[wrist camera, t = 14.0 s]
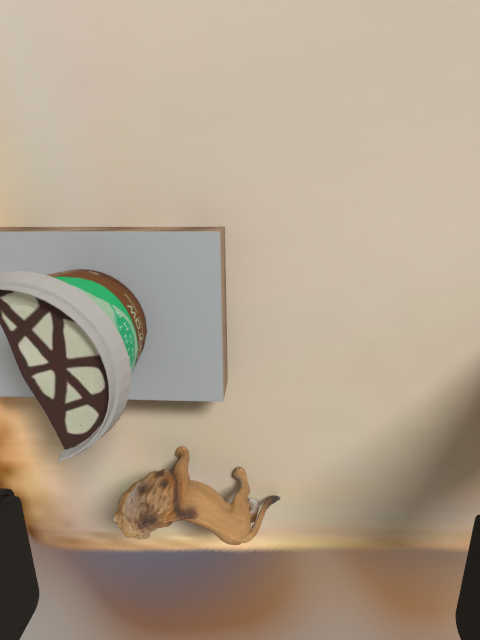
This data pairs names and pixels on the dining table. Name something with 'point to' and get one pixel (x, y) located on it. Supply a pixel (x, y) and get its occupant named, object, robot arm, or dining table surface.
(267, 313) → the dining table surface
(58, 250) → the pedestal
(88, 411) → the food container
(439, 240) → the dining table surface
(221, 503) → the lion figurine
